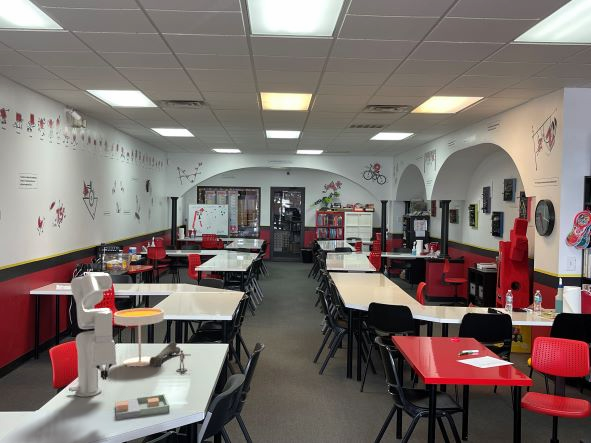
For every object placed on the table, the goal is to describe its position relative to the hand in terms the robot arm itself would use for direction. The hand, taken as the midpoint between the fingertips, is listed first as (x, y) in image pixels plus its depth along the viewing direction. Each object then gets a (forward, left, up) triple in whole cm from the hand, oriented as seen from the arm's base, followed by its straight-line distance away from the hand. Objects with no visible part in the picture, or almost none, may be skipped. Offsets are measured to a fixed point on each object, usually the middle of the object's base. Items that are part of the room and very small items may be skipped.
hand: (104, 378), depth 242 cm
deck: (+10, +3, -17) cm, 20 cm away
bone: (+37, +87, -18) cm, 96 cm away
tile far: (+22, +5, -14) cm, 27 cm away
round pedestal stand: (+23, +88, -17) cm, 92 cm away
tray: (+21, +3, -17) cm, 28 cm away
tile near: (+7, 0, -15) cm, 17 cm away
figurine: (+44, +59, -17) cm, 75 cm away
